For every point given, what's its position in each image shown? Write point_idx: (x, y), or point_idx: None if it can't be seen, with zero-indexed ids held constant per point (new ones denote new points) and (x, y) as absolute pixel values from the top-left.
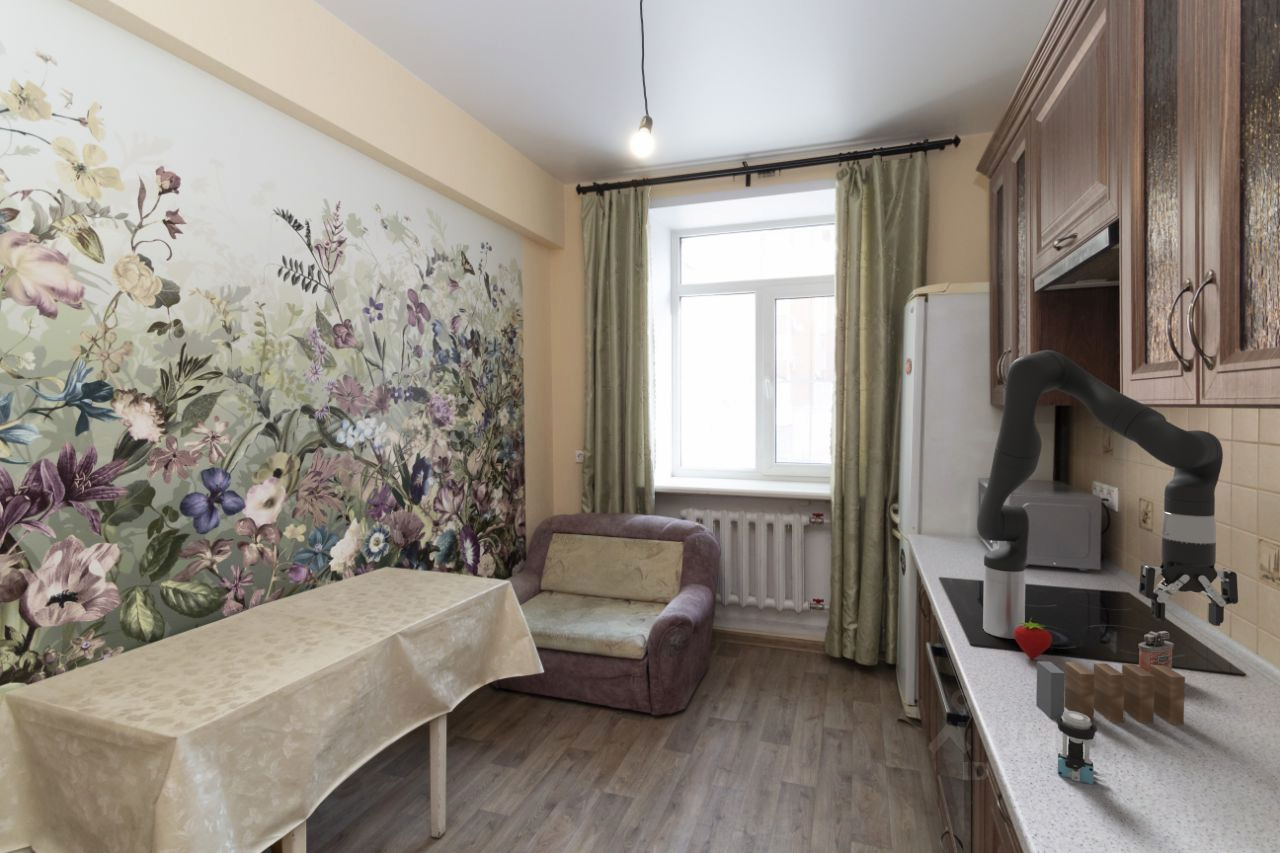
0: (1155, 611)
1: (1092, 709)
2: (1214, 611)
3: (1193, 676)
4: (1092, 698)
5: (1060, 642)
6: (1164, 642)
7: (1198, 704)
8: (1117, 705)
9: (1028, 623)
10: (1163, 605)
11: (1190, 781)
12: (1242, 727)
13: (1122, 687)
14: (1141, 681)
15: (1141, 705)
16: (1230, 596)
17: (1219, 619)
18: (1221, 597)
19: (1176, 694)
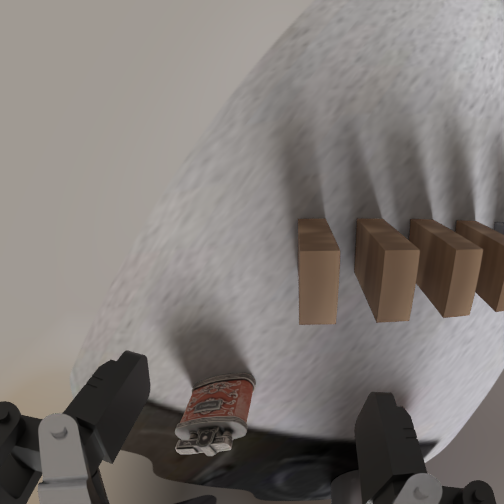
0: (413, 434)
1: (469, 225)
2: (114, 410)
3: (159, 386)
4: (481, 231)
5: (295, 468)
6: (188, 435)
7: (210, 301)
8: (434, 227)
9: None
10: (400, 461)
11: (414, 33)
12: (188, 219)
13: (445, 238)
14: (412, 244)
15: (390, 227)
16: (1, 441)
17: (114, 370)
18: (42, 458)
19: (318, 236)
